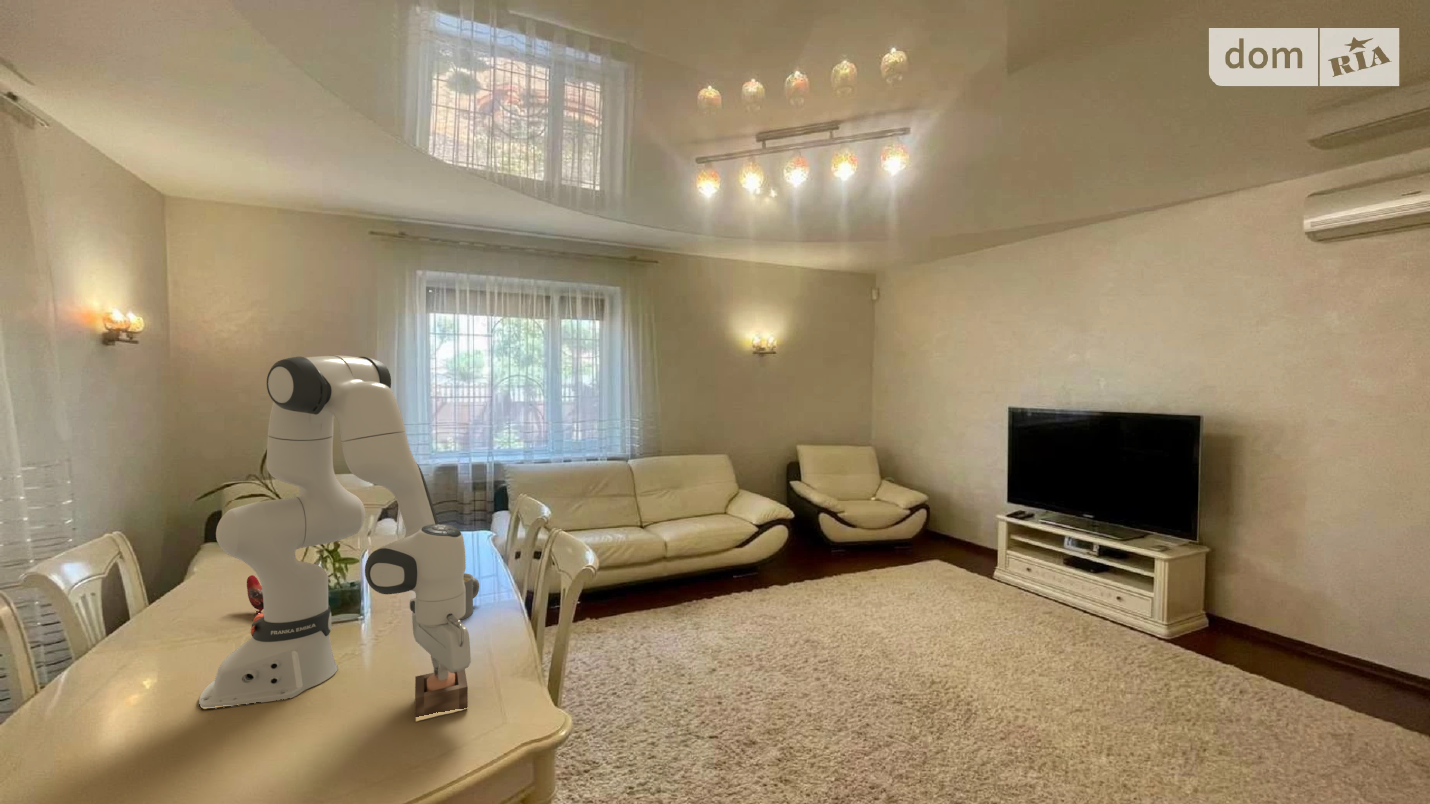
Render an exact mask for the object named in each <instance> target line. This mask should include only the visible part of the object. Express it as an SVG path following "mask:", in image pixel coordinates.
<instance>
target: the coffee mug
mask: <svg viewBox="0 0 1430 804" xmlns="http://www.w3.org/2000/svg"><path fill="white" fill-rule="evenodd" d="M463 580H464V584H465V589H466V612H465V615H464V616H463V617H461V618H460V619H459V620H460V621H461V620H465V619H467V618H469V617H471V616H472V615H473V612H474V599H475V598H476V597H477V596H478V594H479V592H480V582H479V580H478V579H477V578H475V577H474V576H473V575H472V574H470V573H464V577H463Z"/></svg>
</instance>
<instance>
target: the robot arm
mask: <svg viewBox="0 0 1430 804" xmlns="http://www.w3.org/2000/svg"><path fill="white" fill-rule="evenodd" d="M266 377H267V378H266V390H267V393H268V396H269V398H270V399H271V400H272V401H273V402H272V405H271V410H270V414H269V421H268V429H267V444H266V445H267V447H266V470H267V472H268V473H269V474H270V476H271V477H273V478H274V479H275V480H278V481H280V482H283V483H285V484H289V485H293V486H296V487H298V490H299V493H298V495H297V496H294V497H287V498H278V499H271V500H270V499H269V500H261V501H255V502H252V503H248V504H247V503H246V504H243V505H240V506H236V507H234V508H231V509H229V510H227V511H226V512H225V513H224V514H223V515H222V516H221V518H220V520H219V521H218V523H217V526H216V530H215V538H216V542H217V544H218V546H219V547H220V549H221V550H222V551H223V552H224V553H225V554H227V555H228V556H229V557H233V558H235V559H237V560H240V561H242V562H243V563H244V564H247V566H249V567H250V569H252V570H253V571H254V572H255V574H256V575H257V578H258V580H259V583H260V585H261V586H262V592H263V603H264V609H263V613H262V612H261V614H256V615H255V617H254V618H253V620H252V624H251V626H250V627H251V628H250V635H251V637H250V638H249V639H248V640H247V641H245V642H244V643H243V644H241V645H240V646H239V647H238V648H236V649H235V650H233V651H232V652H231V653H230V654H229V655H227V656H226V657H225V658H224V660H222V661H221V663H220V664H219V667H218V668H217V671H216V676H215V677H214V678H215V679H214V680H212V681H211V682H210V683H209V684H208V685H207V686H205V688H204V689H203V691H202V692H201V693H200V696H199V699H198V705H199V704H200V705H201V706H202V707H215V706H223V705H237V704H246V703H247V704H246V705H250V704H249V703H254V704H257V703H256V702H261V703H267V702H273V701H274V702H276V700H277V701H283V699H284V700H288V699H287V698H290V699H292V698H295V697H296V696H298V695H300V694H301V693H302V692H303V693H304V691H306V690H309V689H310V688H312V687H315V686H317V685H319V684H322V683H323V682H325V681H326V680H328V679H330V678H331V677H332V676H334V675H335V674H336V672H337V670H338V664H337V663H336V660H335V656H334V653H333V649H332V643H331V642H332V641H331V636H330V634H331V631H332V612H331V606H330V605H329V575H328V573H327V571H326V570H325V568H323V567H322V566H320V565H319V564H318V565H317V564H314V563H311V562H307V561H301V560H298V559H297V555H296V551H297V550H300V549H303V548H309V547H315V546H320V545H325V544H331V543H336V542H338V541H341V540H345V539H347V538H349V537H351V536H354V535H356V534H358V533H359V531H361V529H362V528H363V526H364V524H365V521H366V515H367V514H366V513H367V512H366V508H365V505H364V503H363V501H362V500H361V499H360V498H359V496H357V495H356V494H354V493H352V492H350V491H349V490H347V489H346V488H345V487H344V486H343V485H342V484H341V482H340V481H339V480H338V478H337V476H336V473H335V469H334V460H333V459H334V457H333V456H334V454H333V450H334V447H333V446H334V442H333V441H334V423H335V421H334V420H335V419H336V420H337V424H338V432H339V438H340V443H341V449H342V454H343V459H344V461H345V463H346V467H348V468H347V469H348V470H349V472H350V473H351V474H352V475H354V476H355V477H356V478H358V479H360V480H362V481H364V482H366V483H370V484H374V485H378V486H380V487H382V488H385V489H387V490H388V491H389V492H391V494H392V495H393V497H394V498H395V499H396V502H397V505H398V508H399V512H400V515H401V519H402V521H403V524H404V529H405V535H404V537H403V538H400V539H397V540H394V541H392V542H390V543H388V544H385V545H383V546H381V547H379V548H377V549H376V550H374V551H372V552H371V553H370V555H369V556H368V557H367V560H366V562H365V564H364V565H365V566H364V576H365V579H366V581H367V584H368V585H369V587H371V589H372V590H373V591H375V592H377V593H379V594H381V595H395V594H397V595H398V594H401V593H403V594H404V593H407V592H410V591H412V592H414V593H415V597H414V598H411V599H410V600H409V610H410V611H411V612H412V613H411V619H412V621H411V622H412V631H413V638H414V640H415V642H416V643H417V644H418V645H419V646H420V647H421V648H423V649H424V651H426V652H427V653H428V654H429V655H430V660H431V664H432V667H433V673H434V676H436V677H437V678H438V680H439V681H442V680H445V679H447V678H448V676H449V672H450V673H454V672H457V671H460V670H463V669H465V670H466V669H467V668H469V666H470V665H471V661H472V660H471V658H472V657H471V655H472V654H471V642H470V633H469V630H468V628H467V627H466V625H465V624H463V623H462V621H461V620H459V619H460V618H461V617H463V616H464V615H465V612H466V589H465V584H464V580H463V577H464V573H465V572H466V568H467V567H466V565H467V564H466V560H467V559H466V549H465V548H466V547H465V540H464V536H463V533H462V531H461V530H460V529H459V528H457V527H456V526H454V525H450V524H445V523H439V520H438V517H437V514H436V512H435V508H434V504H433V501H432V498H431V496H430V492H429V488H428V485H427V482H426V479H425V476H424V474H423V471H422V470H421V467H420V465H419V464H418V463H417V461H416V459H415V458H414V456H413V453H412V451H411V448H410V444H409V441H408V437H407V432H406V427H405V423H404V419H403V416H402V413H401V410H400V406H399V404H398V401H397V399H396V396H395V394H394V391H393V390H392V389H391V386H392V377H391V372H390V370H389V369H388V367H387V366H386V364H385V363H383V362H382V361H380V360H378V359H376V358H375V359H374V358H372V357H368V356H359V357H357V356H350V355H337V354H336V355H335V354H332V355H331V354H330V355H322V356H321V355H319V356H318V355H317V356H307V357H304V356H293V357H288V358H283V359H280V360H278V361H276V362H275V363H274V364H273V365H272V366H271V368H270V369H269V371H268V374H267V376H266ZM280 699H282V700H280Z"/></svg>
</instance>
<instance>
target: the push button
mask: <svg viewBox="0 0 1430 804" xmlns="http://www.w3.org/2000/svg"><path fill="white" fill-rule="evenodd" d="M451 686H455V673H450V672H449V676H448V678H447V679H445V680H442V681H439V680H438V678H437V677H436V676H434V674H433V675H431V676H430V677H428V679H427V692H429V691H433V690H438V689H442V688H447V687H451Z"/></svg>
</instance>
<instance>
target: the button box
mask: <svg viewBox="0 0 1430 804" xmlns="http://www.w3.org/2000/svg"><path fill="white" fill-rule="evenodd" d="M454 673H455V686H451V687H447V688H442V689H438V690H433V691H429V692H427V679H428V677H430V676H431V675H433V674H434V672H431V673H425V674H420V675H417V676H415V681H414V682H415V683H414V691H415V692H414V718H415V717H419V716H424V715H429V714H433V713H436V712H437V713H438V712H445V711H450V710H455V709H464V708H467V707H468V704H469V703H468V701H469V700H468V697H469V695H468V694H469V693H468V692H469V691H468V690H469V689H468V687H469V686H468V680H467V673H466V669H463V670H460V671H457V672H454ZM468 708H469V707H468Z"/></svg>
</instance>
